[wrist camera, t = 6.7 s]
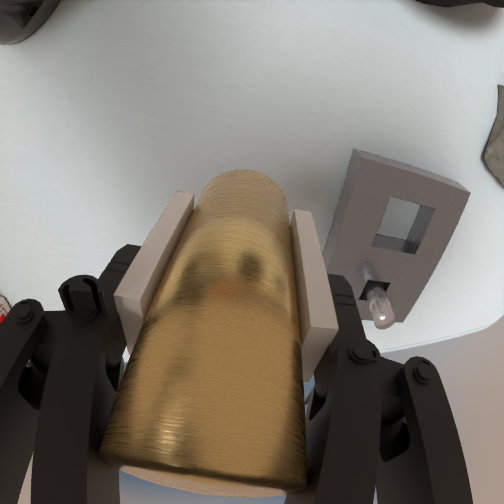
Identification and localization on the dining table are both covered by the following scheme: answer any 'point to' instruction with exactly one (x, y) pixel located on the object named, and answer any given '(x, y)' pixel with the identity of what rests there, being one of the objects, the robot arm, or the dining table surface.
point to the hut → (462, 2)
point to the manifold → (387, 248)
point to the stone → (497, 141)
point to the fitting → (219, 355)
